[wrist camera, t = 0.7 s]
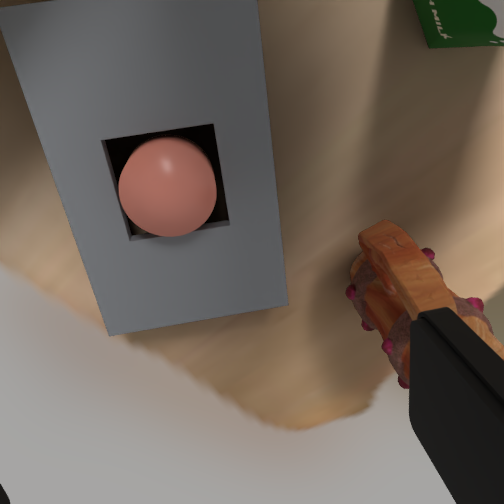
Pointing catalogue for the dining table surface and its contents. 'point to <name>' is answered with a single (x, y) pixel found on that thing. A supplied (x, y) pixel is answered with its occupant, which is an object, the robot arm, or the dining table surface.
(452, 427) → the robot arm
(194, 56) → the box
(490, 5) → the milk carton
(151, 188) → the call button
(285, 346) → the dining table surface
